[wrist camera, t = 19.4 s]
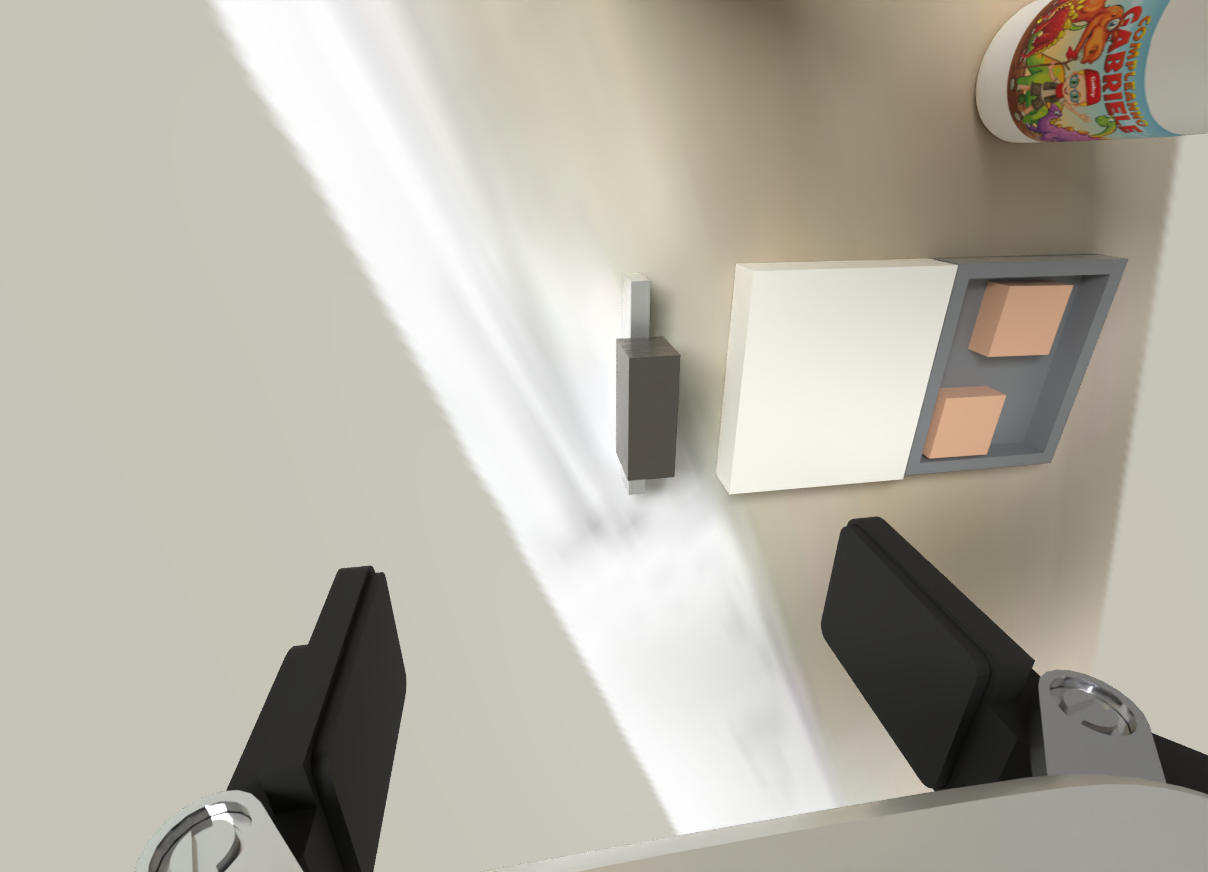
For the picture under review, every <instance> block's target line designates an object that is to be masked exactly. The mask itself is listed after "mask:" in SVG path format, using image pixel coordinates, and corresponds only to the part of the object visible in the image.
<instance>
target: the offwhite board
mask: <svg viewBox="0 0 1208 872" xmlns="http://www.w3.org/2000/svg"><path fill="white" fill-rule="evenodd" d="M957 268H958V265H955V264H951V263H946V262H942V261H937V260H933V259H928V258H924V259H886V260H849V261H812V262H774V263H737V264H736V270H735V280H734V291H733V301H732V312H731V322H730V332H729V343H728V353H727V364H726V374H725V385H724V395H723V405H722V416H721V426H720V437H719V447H718V457H717V468H716V475H717V477H718V478H719V480H720V481H721V483H722V484H723V486H724V487H725V489H726V490H727V491H728V493H729V494H739V493H750V492H762V491H773V490H785V489H796V488H808V487H819V486H831V485H842V484H854V483H865V482H876V481H888V480H899V479H903V477H904V473H905V469H906V466H907V462H908V458H909V454H910V450H911V446H912V442H913V438H914V435H915V431H916V427H917V423H918V419H919V415H920V411H921V408H922V404H923V400H924V396H925V392H926V388H927V384H928V380H929V377H930V373H931V369H932V365H933V361H934V357H935V353H936V349H937V346H938V342H939V338H940V334H941V330H942V326H943V322H944V318H945V315H946V311H947V307H948V303H949V299H950V295H951V291H952V288H953V284H954V280H955V276H956V272H957Z"/></svg>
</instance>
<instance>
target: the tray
mask: <svg viewBox="0 0 1208 872" xmlns="http://www.w3.org/2000/svg"><path fill="white" fill-rule="evenodd" d="M934 260H937V261H942V262H946V263H951V264H955V265H958V268H957V272H956V276H955V280H954V284H953V288H952V291H951V295H950V299H949V303H948V307H947V311H946V315H945V318H944V322H943V326H942V330H941V334H940V338H939V342H938V346H937V349H936V353H935V357H934V361H933V365H932V369H931V373H930V377H929V380H928V384H927V388H926V392H925V396H924V400H923V404H922V408H921V411H920V415H919V419H918V423H917V427H916V431H915V435H914V438H913V442H912V446H911V450H910V454H909V458H908V462H907V466H906V469H905V473H904V475H917V474H928V473H940V472H952V471H963V470H975V469H986V468H998V467H1010V466H1021V465H1033V464H1044V463H1051V461H1052V458H1053V456H1054V453H1055V450H1056V448H1057V445H1058V442H1059V440H1060V437H1061V435H1062V432H1063V429H1064V427H1065V424H1066V421H1067V419H1068V416H1069V414H1070V411H1071V408H1072V406H1073V403H1074V400H1075V398H1076V395H1077V393H1078V390H1079V387H1080V385H1081V382H1082V379H1083V377H1084V374H1085V372H1086V369H1087V366H1088V364H1089V361H1090V358H1091V356H1092V353H1093V351H1094V348H1095V345H1096V343H1097V340H1098V337H1099V335H1100V332H1101V330H1102V327H1103V324H1104V322H1105V319H1106V316H1107V314H1108V311H1109V309H1110V306H1111V303H1112V301H1113V298H1114V295H1115V293H1116V290H1117V288H1118V285H1119V282H1120V280H1121V277H1122V274H1123V272H1124V269H1125V267H1126V264H1127V261H1128V259H1125V258H1118V257H1112V256H1105V255H1099V254H1073V255H1036V256H999V257H961V258H934ZM1021 280H1051V281H1056V282H1060V283H1065V284H1070V285H1073V288H1072V291H1071V294H1070V296H1069V299H1068V302H1067V305H1066V308H1065V310H1064V313H1063V316H1062V319H1061V321H1060V324H1059V327H1058V330H1057V332H1056V335H1055V338H1054V341H1053V344H1052V346H1051V349H1050V352H1049V355H1025V356H999V357H987V356H984V355H982V354H979V353H977V352H974V351H972V350H969V349H968V347H969V343H970V340H971V337H972V333H973V330H974V327H975V323H976V320H977V316H978V313H979V310H980V306H981V303H982V300H983V296H984V293H985V290H986V286H987V283H988V281H1021ZM975 386H988V387H990V388H992V389H994V390H996V391H999V392H1001V393H1003V394H1005V395H1006V398H1005V401H1004V404H1003V407H1002V410H1001V413H1000V416H999V419H998V422H997V425H996V428H995V431H994V434H993V437H992V440H991V443H990V446H989V449H988V452H987V454H986V455H972V456H958V457H944V458H931V459H929V458H928V457H926V456H925V455H923V454H922V452H923V448H924V445H925V441H926V437H927V434H928V430H929V426H930V422H931V419H932V415H933V411H934V408H935V404H936V400H937V396H938V393H939V389H940V388H956V387H975Z"/></svg>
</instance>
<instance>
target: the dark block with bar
mask: <svg viewBox="0 0 1208 872" xmlns="http://www.w3.org/2000/svg"><path fill="white" fill-rule="evenodd" d="M650 283H651V281H650V280H649V279H648V278H646V277H645V276H644V275H643V274H641V273H623V274H622V339H616V453H617V455H618V458H619V460H620V463H621V476H622V479H623V481H624V484H625V486H626V489H627V492H628V494H629V495H632V494H642V493H645V479H656V478H667V477H674V473H675V453H676V433H677V413H678V394H679V374H680V354H679V353H678V352H677V351H676V350H675V349H674V348H673V347H672V346H671V344H670V343H669V342H668V341H667V340H666V339H665V338H664V337H663V336H660V337H649V322H650Z"/></svg>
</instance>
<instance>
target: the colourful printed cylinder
mask: <svg viewBox="0 0 1208 872" xmlns="http://www.w3.org/2000/svg"><path fill="white" fill-rule="evenodd" d="M976 104H977V108H978V112H979V116H980V118H981V120H982V121H983V123H984V125H985V126H986V127H987V128H988V130H989V131H990V132H991V133H992V134H994V135H995V136H997V137H998V138H1000V139H1002V140H1004V141H1007V142H1013V143H1039V142H1065V141H1090V140H1112V139H1132V138H1152V137H1169V136H1181V135H1191V134H1205V133H1208V0H1036V1H1034V2H1032V3H1030V4H1028V5H1027V6H1025V7H1023V8H1022V9H1021V10H1019V11H1018V12H1017V13H1016V14H1015V15H1013V16H1012V17H1011V18H1010V19H1009V20H1008V21H1007V22H1006V23H1005V24H1004V25H1003V26H1002V27H1001V29H1000V30H999V31H998V33H997V34H996V35H995V37H994V38H993V39H992V41H991V43H990V45H989V47H988V48H987V50H986V52H985V54H984V57H983V60H982V62H981V65H980V68H979V73H978V77H977V83H976Z"/></svg>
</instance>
